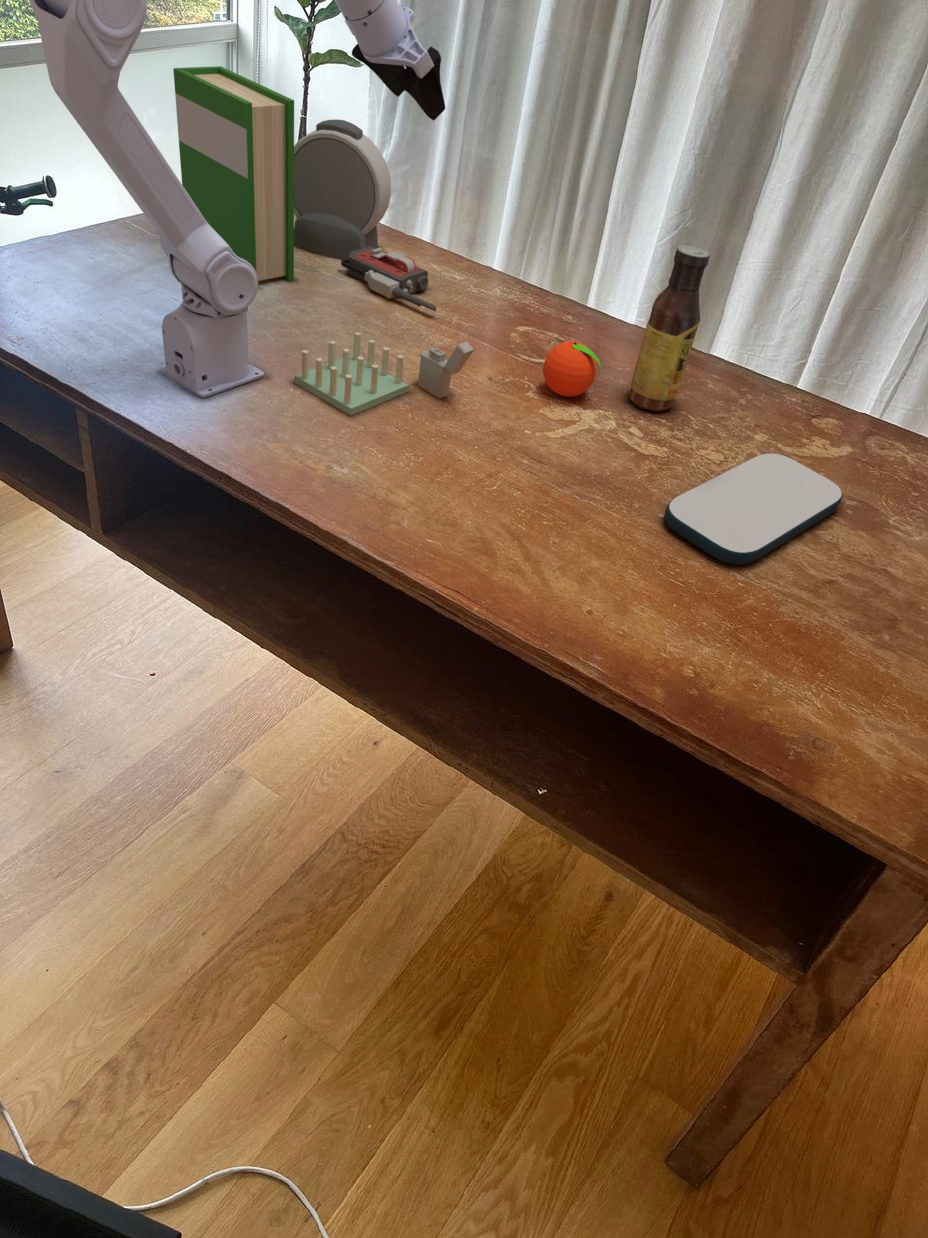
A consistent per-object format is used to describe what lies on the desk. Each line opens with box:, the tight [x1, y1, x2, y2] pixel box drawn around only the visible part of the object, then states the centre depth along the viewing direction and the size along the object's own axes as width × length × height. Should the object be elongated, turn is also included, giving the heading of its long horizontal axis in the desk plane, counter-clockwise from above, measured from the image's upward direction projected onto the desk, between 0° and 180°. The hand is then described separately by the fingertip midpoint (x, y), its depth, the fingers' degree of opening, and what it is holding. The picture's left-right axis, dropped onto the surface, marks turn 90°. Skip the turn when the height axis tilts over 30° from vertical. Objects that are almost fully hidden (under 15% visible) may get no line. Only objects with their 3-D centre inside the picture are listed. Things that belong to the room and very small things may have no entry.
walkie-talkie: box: [340, 246, 437, 312], centre depth 134 cm, size 9×4×20 cm
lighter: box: [417, 341, 475, 399], centre depth 111 cm, size 7×2×8 cm, turn 48°
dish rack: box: [294, 331, 410, 417], centre depth 110 cm, size 10×10×4 cm
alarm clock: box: [294, 119, 392, 260], centre depth 140 cm, size 16×10×18 cm, turn 74°
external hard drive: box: [663, 452, 843, 566], centre depth 101 cm, size 24×12×2 cm, turn 133°
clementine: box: [542, 340, 603, 398], centre depth 115 cm, size 8×7×7 cm
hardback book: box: [172, 65, 295, 282], centre depth 128 cm, size 18×7×24 cm, turn 43°
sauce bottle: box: [628, 244, 711, 412], centre depth 113 cm, size 6×6×20 cm
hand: (420, 101), depth 107 cm, fingers open, 7 cm apart
